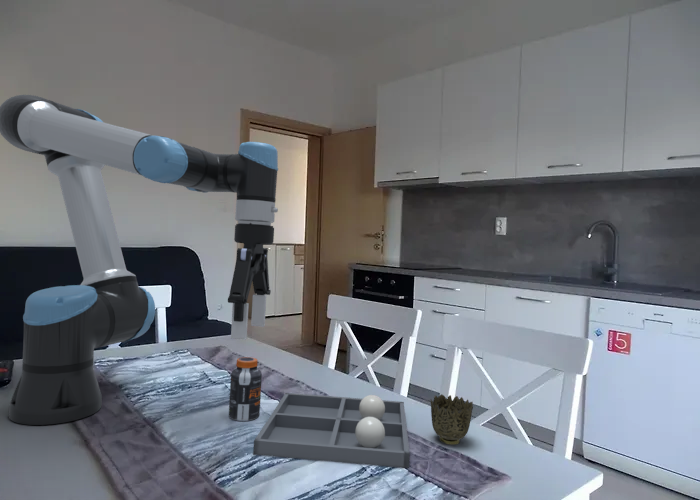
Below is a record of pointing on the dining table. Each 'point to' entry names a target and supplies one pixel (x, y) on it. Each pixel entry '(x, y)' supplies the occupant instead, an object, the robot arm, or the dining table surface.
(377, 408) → the egg ball
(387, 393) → the dining table surface
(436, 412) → the cup
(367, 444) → the egg ball
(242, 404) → the pill bottle
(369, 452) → the egg tray
